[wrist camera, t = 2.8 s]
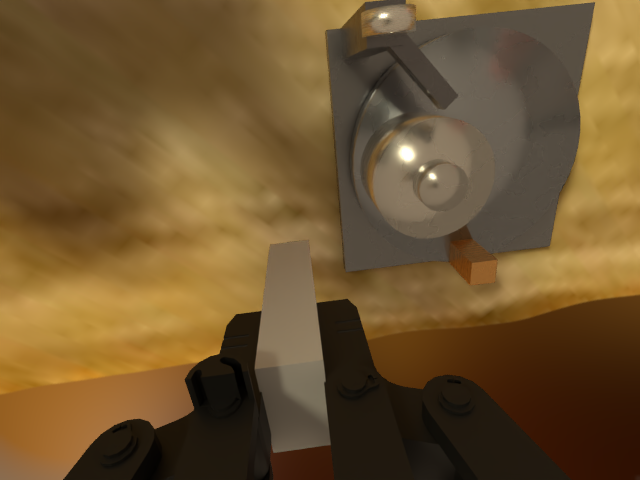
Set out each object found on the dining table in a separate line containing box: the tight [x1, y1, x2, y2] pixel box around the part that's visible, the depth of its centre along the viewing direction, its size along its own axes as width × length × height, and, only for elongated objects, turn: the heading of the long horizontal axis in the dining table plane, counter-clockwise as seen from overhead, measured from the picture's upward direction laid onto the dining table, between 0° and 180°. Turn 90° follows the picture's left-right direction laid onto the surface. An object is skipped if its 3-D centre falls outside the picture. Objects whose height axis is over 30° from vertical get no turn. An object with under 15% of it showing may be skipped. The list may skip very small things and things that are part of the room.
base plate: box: [325, 2, 595, 272], centre depth 30 cm, size 20×20×1 cm
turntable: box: [350, 27, 580, 285], centre depth 27 cm, size 18×18×6 cm
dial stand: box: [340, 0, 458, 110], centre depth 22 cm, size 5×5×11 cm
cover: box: [360, 112, 495, 239], centre depth 25 cm, size 8×8×6 cm
